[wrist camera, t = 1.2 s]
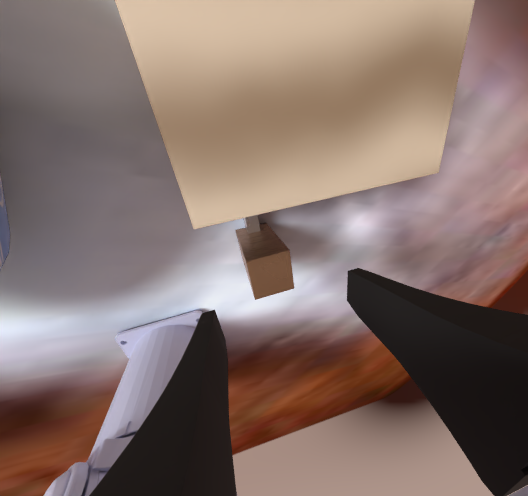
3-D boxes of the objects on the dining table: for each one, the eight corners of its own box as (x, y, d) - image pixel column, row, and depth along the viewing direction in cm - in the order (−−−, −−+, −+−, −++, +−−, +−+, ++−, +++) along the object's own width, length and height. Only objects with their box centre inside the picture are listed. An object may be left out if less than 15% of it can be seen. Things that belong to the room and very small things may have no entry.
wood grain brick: (271, 252, 19) (294, 288, 14) (242, 259, 19) (255, 299, 13) (244, 92, 14) (265, 49, 8) (203, 98, 13) (197, 57, 8)
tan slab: (366, 166, 18) (448, 170, 12) (201, 201, 16) (193, 229, 10) (372, 47, 14) (496, -38, 8) (161, 73, 12) (109, -15, 6)
